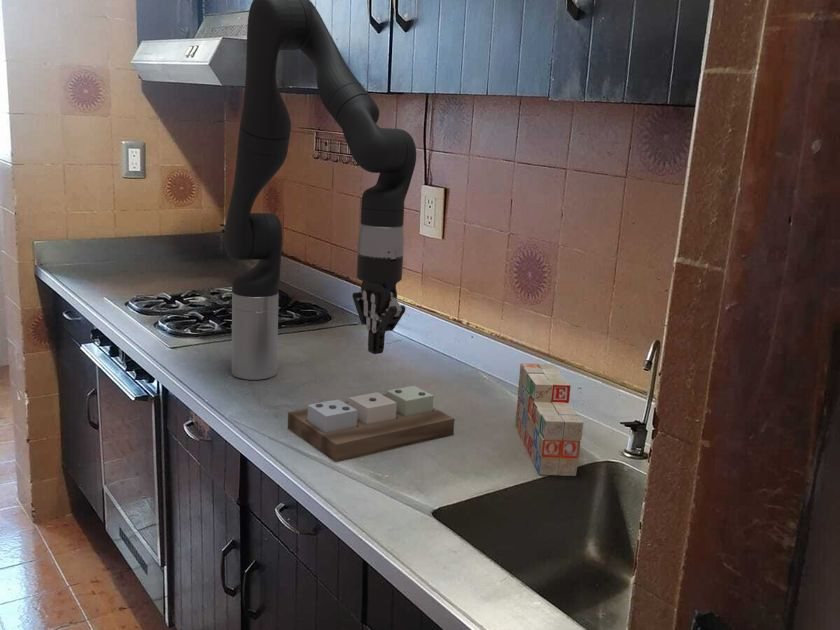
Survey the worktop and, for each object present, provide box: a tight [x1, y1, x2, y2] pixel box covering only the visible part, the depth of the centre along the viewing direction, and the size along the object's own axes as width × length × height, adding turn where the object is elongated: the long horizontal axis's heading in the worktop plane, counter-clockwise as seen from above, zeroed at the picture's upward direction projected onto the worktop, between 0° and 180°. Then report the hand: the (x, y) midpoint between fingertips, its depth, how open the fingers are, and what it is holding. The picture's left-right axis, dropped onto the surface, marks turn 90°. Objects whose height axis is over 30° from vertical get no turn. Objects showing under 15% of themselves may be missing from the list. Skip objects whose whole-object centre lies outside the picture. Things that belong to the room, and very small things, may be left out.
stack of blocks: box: [514, 362, 584, 477], centre depth 137 cm, size 21×6×12 cm, turn 4°
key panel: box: [287, 393, 455, 463], centre depth 140 cm, size 16×24×3 cm, turn 127°
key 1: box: [347, 391, 397, 425], centre depth 140 cm, size 6×6×3 cm
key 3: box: [307, 398, 357, 433], centre depth 135 cm, size 6×6×3 cm
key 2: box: [386, 385, 434, 417], centre depth 145 cm, size 6×6×3 cm
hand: (375, 352), depth 137 cm, fingers closed
